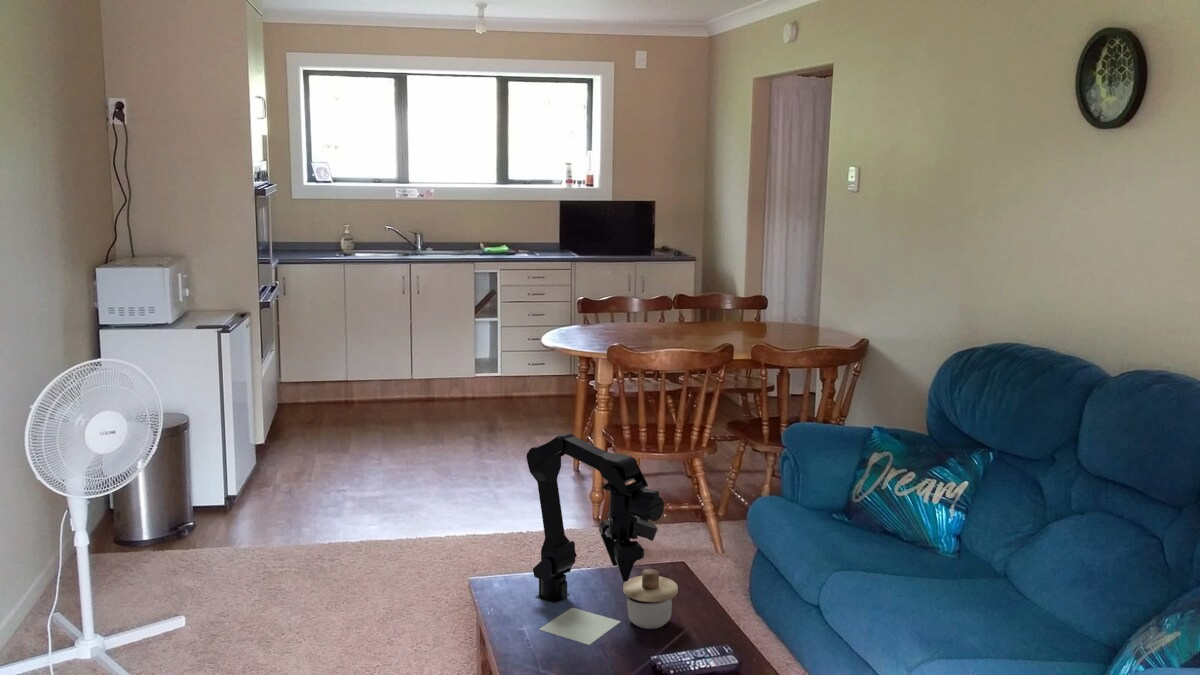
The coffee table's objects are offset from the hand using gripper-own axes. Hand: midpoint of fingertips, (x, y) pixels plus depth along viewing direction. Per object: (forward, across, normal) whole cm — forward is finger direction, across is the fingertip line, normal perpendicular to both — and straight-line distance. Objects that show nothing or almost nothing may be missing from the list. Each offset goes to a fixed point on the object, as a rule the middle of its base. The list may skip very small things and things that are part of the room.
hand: (620, 573), depth 232 cm
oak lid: (+5, -1, -7) cm, 9 cm away
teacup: (+13, -1, -8) cm, 15 cm away
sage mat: (+13, 0, +10) cm, 16 cm away
